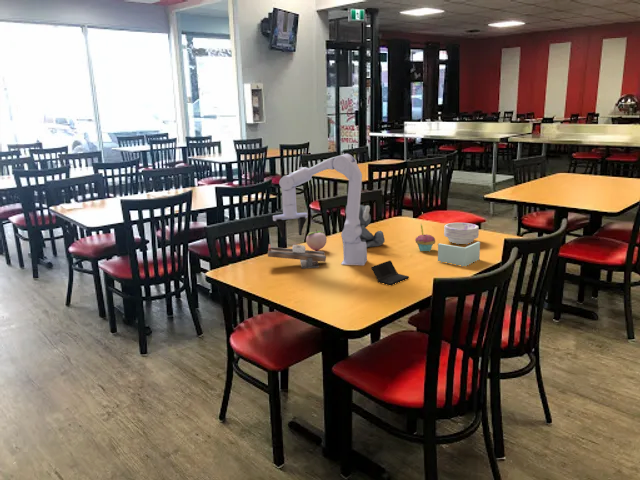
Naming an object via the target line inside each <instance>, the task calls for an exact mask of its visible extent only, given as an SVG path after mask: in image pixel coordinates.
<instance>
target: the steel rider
mask: <svg viewBox="0 0 640 480" xmlns="http://www.w3.org/2000/svg"><path fill="white" fill-rule="evenodd" d="M291 249H292V253H300V254H305V250H306V245H302V244H292V248H291Z"/></svg>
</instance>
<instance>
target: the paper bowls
mask: <svg viewBox="0 0 640 480" xmlns="http://www.w3.org/2000/svg"><path fill="white" fill-rule="evenodd" d="M443 228H444V229H443V231H444V232H443V235H444V237H445V238H447V239H448V241H449V243H451V242H452V243H451V244H453V243H456V244H455V245H459V244H466V245H469V244H468V243H470V244H472V243H473V242H474V240H476V239H478V238H479V232H480V230H479V225H477V224H474V223H469V222H450V223H446V224H445V225H444V226H443ZM471 242H472V243H471Z"/></svg>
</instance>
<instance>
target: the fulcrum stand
mask: <svg viewBox="0 0 640 480" xmlns="http://www.w3.org/2000/svg"><path fill="white" fill-rule="evenodd" d="M299 261H300V262H299V263H300V267H301V269H302V270H304V269H317V268H320V265H319V261H312V258H307V260H299Z"/></svg>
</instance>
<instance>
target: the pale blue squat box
mask: <svg viewBox="0 0 640 480" xmlns="http://www.w3.org/2000/svg"><path fill="white" fill-rule="evenodd" d="M480 254H481V241H476V242H474V243H471V244H468V245H466V246H465V247H463V246H457V245H450V244H444V243H440V242H439V243H438V244H437V262H438V261H441V262H440V263H442V262H447V263H452V264H456V265H455V266H457V265H461V266H460V267H463V266H466V267H467V265H468V266H470V265H472V264H474V263H476V262H478V261H480ZM477 260H478V261H477ZM475 261H476V262H475ZM473 262H474V263H473ZM447 263H446V264H447ZM471 263H472V264H471ZM452 264H451V265H452ZM469 264H470V265H469Z"/></svg>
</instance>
